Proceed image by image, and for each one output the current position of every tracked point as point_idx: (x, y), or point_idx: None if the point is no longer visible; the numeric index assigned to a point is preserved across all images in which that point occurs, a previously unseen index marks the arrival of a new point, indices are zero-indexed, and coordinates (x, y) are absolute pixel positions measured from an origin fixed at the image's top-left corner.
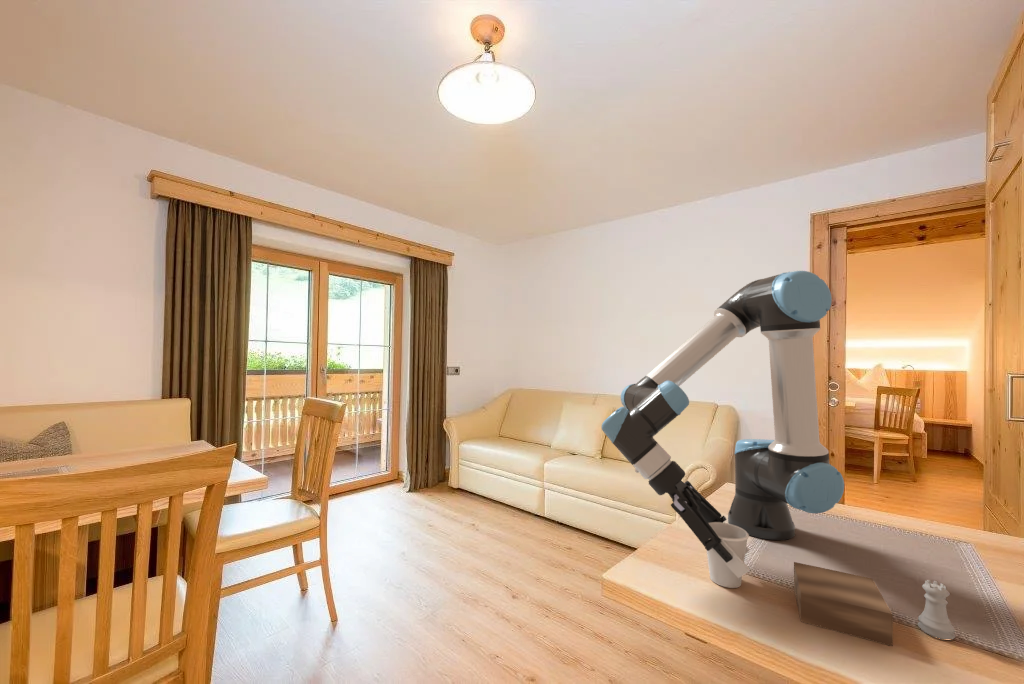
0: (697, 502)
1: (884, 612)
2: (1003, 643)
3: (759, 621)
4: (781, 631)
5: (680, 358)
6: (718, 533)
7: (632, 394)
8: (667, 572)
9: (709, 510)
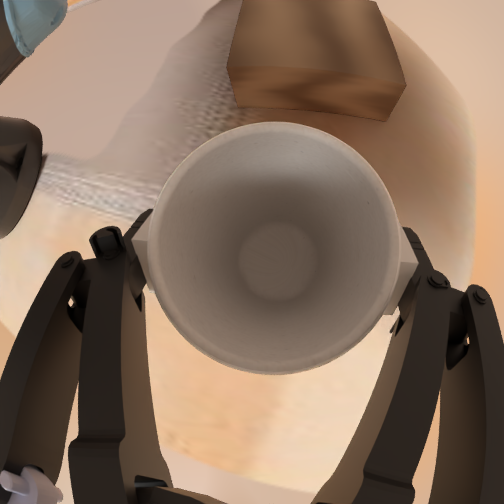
0: (136, 462)
1: (377, 6)
2: None
3: (429, 199)
4: (437, 165)
5: None
6: (189, 276)
7: None
8: (297, 413)
9: (120, 341)
